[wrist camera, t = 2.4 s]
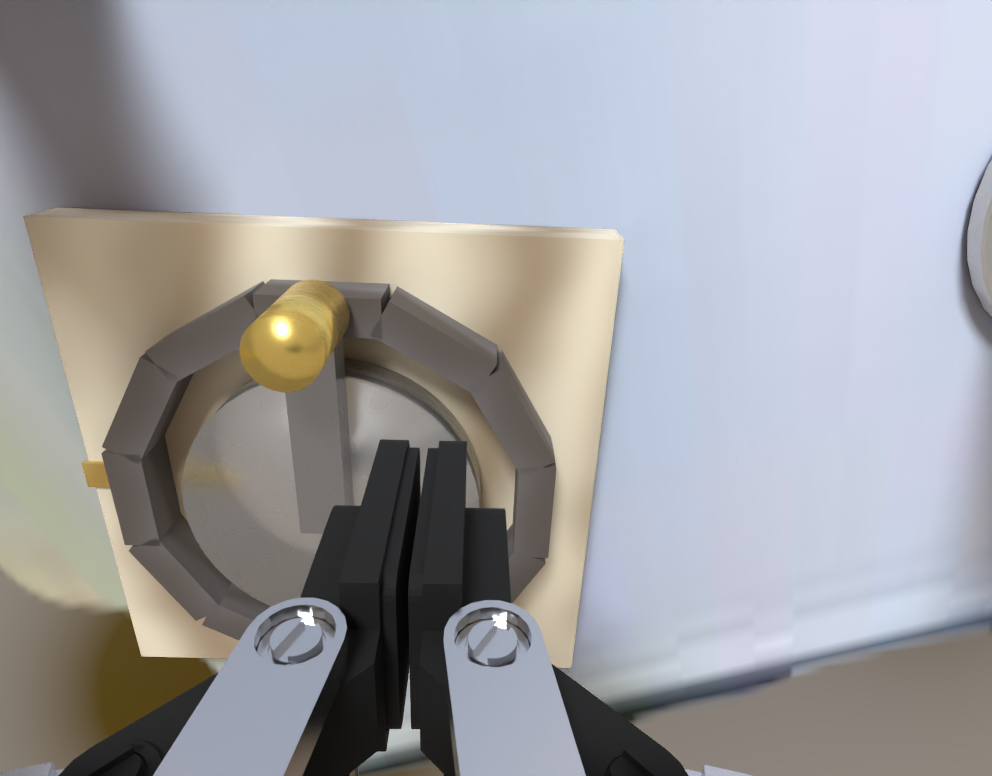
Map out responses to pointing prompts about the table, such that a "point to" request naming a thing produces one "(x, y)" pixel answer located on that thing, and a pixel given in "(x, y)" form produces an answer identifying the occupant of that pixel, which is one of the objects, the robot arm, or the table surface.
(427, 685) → the robot arm
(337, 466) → the dial
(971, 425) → the table surface
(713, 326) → the table surface
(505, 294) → the dial plate
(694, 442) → the table surface
